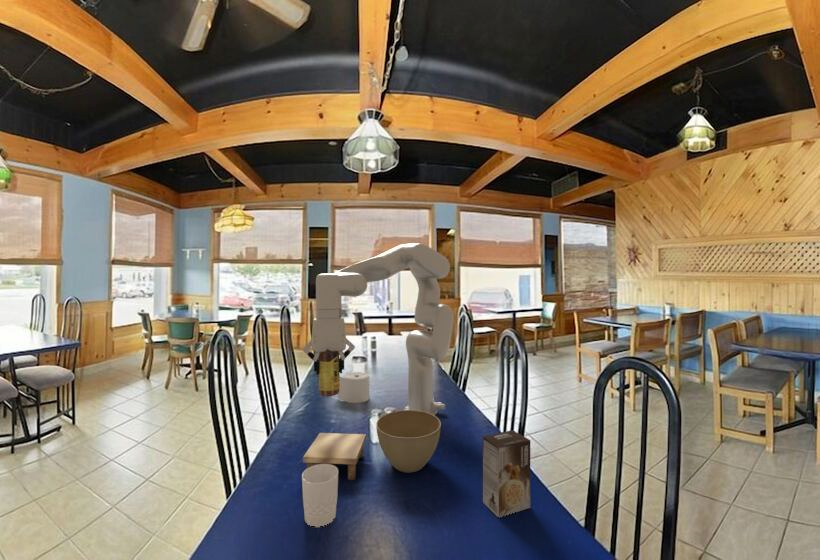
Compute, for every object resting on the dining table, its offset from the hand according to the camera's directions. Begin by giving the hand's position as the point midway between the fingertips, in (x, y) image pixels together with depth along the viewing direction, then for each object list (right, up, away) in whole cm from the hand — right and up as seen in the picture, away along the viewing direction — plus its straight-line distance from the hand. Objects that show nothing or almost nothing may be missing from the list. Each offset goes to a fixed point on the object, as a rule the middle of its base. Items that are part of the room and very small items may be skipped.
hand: (329, 372), depth 112 cm
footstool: (+4, -24, -9) cm, 26 cm away
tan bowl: (+24, -24, -9) cm, 35 cm away
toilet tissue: (+2, -23, +43) cm, 48 cm away
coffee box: (+47, -25, -26) cm, 59 cm away
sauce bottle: (0, -7, 0) cm, 7 cm away
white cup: (+5, -25, -30) cm, 40 cm away
